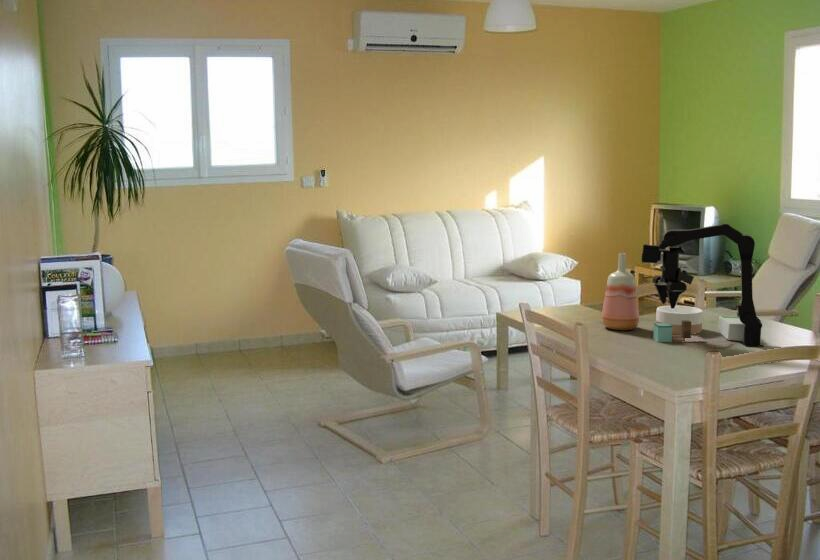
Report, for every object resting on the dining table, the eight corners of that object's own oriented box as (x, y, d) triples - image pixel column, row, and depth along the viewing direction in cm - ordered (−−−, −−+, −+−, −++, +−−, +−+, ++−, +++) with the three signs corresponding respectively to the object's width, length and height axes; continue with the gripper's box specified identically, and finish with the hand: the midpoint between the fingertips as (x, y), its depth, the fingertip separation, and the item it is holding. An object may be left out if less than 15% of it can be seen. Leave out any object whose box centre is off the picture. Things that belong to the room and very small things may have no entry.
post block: (706, 342, 323) (707, 323, 322) (673, 342, 323) (674, 323, 322) (697, 336, 332) (698, 318, 331) (665, 337, 332) (666, 318, 331)
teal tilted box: (671, 342, 324) (672, 325, 323) (657, 342, 323) (658, 326, 323) (667, 338, 329) (667, 323, 328) (653, 338, 329) (654, 323, 328)
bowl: (661, 335, 336) (662, 313, 335) (651, 325, 353) (651, 305, 352) (707, 335, 335) (708, 313, 334) (694, 326, 352) (695, 305, 351)
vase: (593, 326, 351) (595, 252, 347) (623, 323, 357) (626, 250, 352) (616, 333, 338) (618, 256, 334) (646, 330, 344) (649, 254, 339)
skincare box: (740, 316, 339) (752, 323, 323) (739, 333, 340) (751, 341, 324) (718, 315, 339) (729, 322, 324) (717, 332, 340) (728, 340, 325)
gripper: (702, 267, 315) (699, 310, 318) (682, 260, 333) (679, 301, 336) (671, 267, 314) (669, 310, 317) (653, 260, 333) (651, 301, 335)
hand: (668, 306), depth 326 cm, fingers open, 9 cm apart
